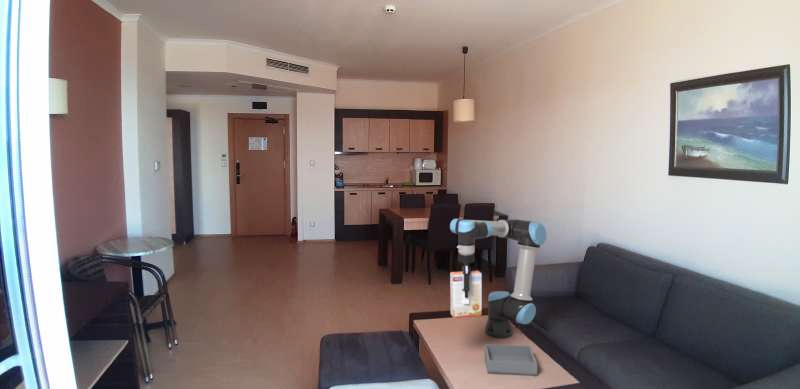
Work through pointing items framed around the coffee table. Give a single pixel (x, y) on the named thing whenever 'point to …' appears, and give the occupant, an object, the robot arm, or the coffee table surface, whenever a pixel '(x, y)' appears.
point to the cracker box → (474, 295)
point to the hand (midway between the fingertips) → (465, 300)
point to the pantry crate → (510, 360)
